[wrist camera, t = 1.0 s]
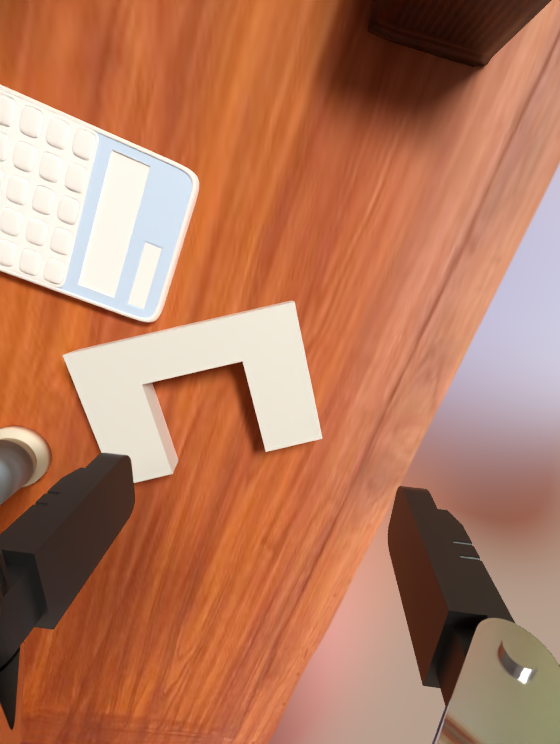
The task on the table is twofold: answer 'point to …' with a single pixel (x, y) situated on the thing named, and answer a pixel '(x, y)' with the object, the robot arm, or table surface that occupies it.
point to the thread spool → (21, 459)
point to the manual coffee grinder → (453, 25)
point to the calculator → (89, 209)
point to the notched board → (188, 355)
